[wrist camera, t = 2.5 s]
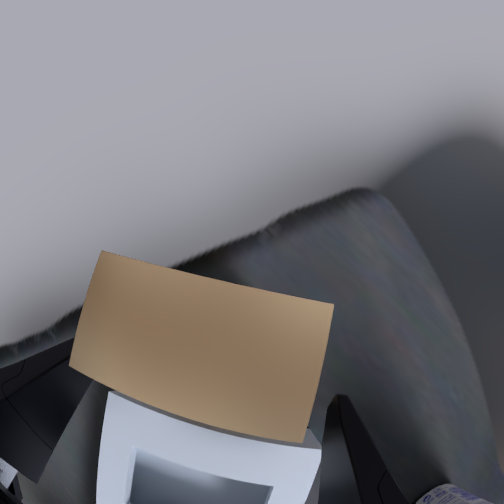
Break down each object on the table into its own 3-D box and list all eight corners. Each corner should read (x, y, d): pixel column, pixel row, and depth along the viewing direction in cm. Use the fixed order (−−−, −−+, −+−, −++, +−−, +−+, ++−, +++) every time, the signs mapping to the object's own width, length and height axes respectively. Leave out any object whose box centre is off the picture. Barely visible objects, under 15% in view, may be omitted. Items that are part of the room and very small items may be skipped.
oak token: (272, 380, 17) (302, 443, 4) (192, 360, 17) (68, 365, 5) (282, 337, 18) (334, 304, 5) (203, 318, 18) (101, 250, 6)
